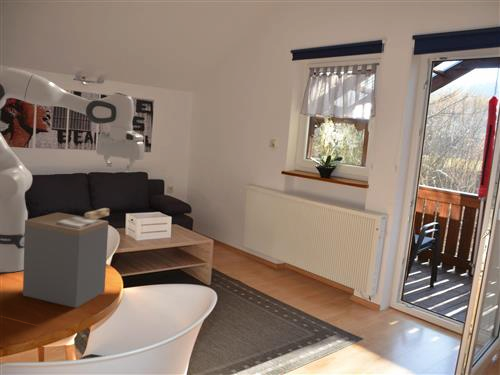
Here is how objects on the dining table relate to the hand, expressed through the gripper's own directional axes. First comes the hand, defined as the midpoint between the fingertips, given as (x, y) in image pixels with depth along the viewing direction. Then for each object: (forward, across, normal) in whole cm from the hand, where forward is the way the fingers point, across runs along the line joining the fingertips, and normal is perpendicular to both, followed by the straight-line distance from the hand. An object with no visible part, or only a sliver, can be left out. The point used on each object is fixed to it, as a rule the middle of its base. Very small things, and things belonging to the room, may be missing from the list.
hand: (119, 168), depth 188 cm
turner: (+15, +7, -29) cm, 33 cm away
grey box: (+41, +2, -34) cm, 53 cm away
